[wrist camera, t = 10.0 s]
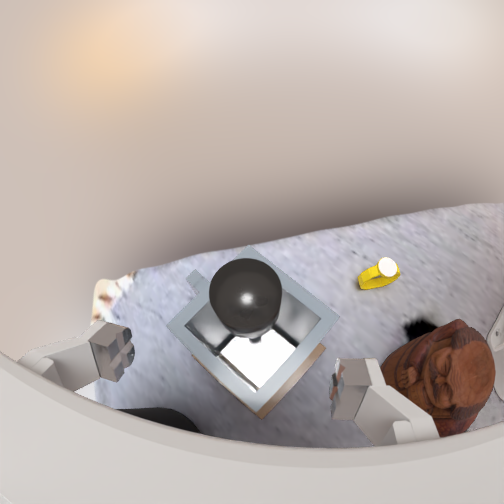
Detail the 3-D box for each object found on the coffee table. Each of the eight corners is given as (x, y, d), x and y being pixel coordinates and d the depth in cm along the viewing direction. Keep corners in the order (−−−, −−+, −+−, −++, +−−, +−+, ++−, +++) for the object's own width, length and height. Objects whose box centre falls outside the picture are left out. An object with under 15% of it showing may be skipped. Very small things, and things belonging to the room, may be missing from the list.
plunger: (256, 316, 35) (242, 216, 16) (295, 349, 32) (333, 284, 14) (221, 353, 33) (159, 294, 14) (259, 387, 30) (248, 381, 12)
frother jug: (247, 286, 40) (234, 213, 24) (324, 349, 35) (366, 313, 20) (185, 348, 36) (129, 312, 21) (262, 418, 31) (257, 441, 16)
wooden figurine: (370, 353, 34) (442, 316, 18) (409, 342, 34) (490, 299, 18) (382, 434, 29) (463, 452, 13) (422, 420, 29) (511, 420, 13)
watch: (386, 273, 40) (403, 254, 34) (391, 290, 38) (410, 272, 33) (351, 278, 39) (366, 259, 34) (356, 296, 38) (372, 279, 33)
